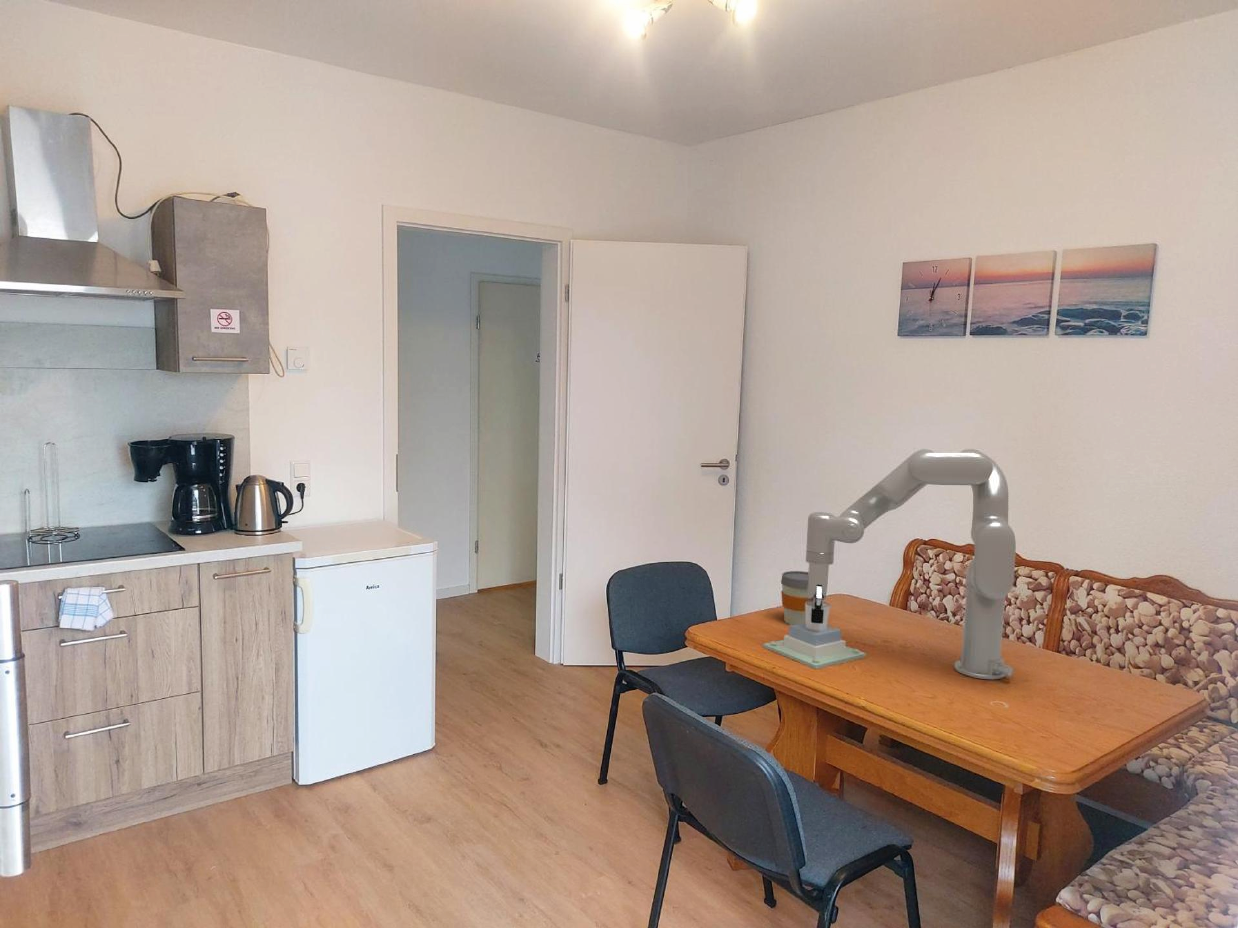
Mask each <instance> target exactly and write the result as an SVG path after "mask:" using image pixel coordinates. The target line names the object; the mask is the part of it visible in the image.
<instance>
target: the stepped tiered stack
mask: <svg viewBox="0 0 1238 928" xmlns="http://www.w3.org/2000/svg"><path fill="white" fill-rule="evenodd" d="M841 638H842V630H841V629H839V628H835V627H834V626H830V625H828V624H827V628H826V630H824V631H815V630H810V629H808V628H806V623H801V624H796V625H791V624H790V625H789V633H788V634H784V635H783V639H780V640H776V641H774V640H771V641H770V642H766V643H763V645H762V648H763V647H764V648H763V649H766V650H768V649H769V650H768V651H771V650H772V651H771V652H773V651H774V652H773V653H775V652H777V653H776V654H777V655H780V654H781V656H783V657H785V656H786V657H785V658H788V659H790V660H792V659H794V660H793V661H795V660H796V661H795V662H797V661H798V662H797V663H801V664H802V665H805V666H807V667H809V668H812V669H814V670H819V669H822V668H826V667H830V666H834V665H839V664H842V663H846V662H851V661H855V659H856V660H859V659H864V658H866V657H867V652H863V651H860V649H859V648H852V647H849V646H847V645H846V643H847V641H846V640H844V639H841Z"/></svg>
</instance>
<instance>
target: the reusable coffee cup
mask: <svg viewBox="0 0 1238 928" xmlns="http://www.w3.org/2000/svg"><path fill="white" fill-rule="evenodd" d="M780 583H781V588H782V590H781V605H782V607H783V615H784V622H785V624H787V625H788V624H789V625H790V626H791V625H796V624H801V623H806V613H805V602H807V601H811V600H812V598H810V599H809V598H808V596H807V586H808V571H799V570H791V571H785V572H783V573H782V574H781V580H780Z"/></svg>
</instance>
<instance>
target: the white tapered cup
mask: <svg viewBox="0 0 1238 928" xmlns="http://www.w3.org/2000/svg"><path fill="white" fill-rule="evenodd" d="M812 608H813V601H807V602H805V613H806V628H808V629H810V630H815V631H824V630H826V628H827V625H828V621H829V615H830V611H831V610H830V609H831V604H830V603H828V602H826V601H823V609H824V613H823V623H822V624H820V623H812V622H811V612H812Z"/></svg>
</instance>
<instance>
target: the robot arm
mask: <svg viewBox="0 0 1238 928" xmlns="http://www.w3.org/2000/svg"><path fill="white" fill-rule="evenodd" d="M927 485H933V486H935V485H936V486H970V487H971V490H972V496H973V497H972V519H971V529H970V530H971V531H970V538H971V540H972V542H973V544H974V554H973V555H974V557H973V559H972V560H971V561H970V562H969V563H968V566H967V568H966V577H965V580H966V581H965V585H966V586H965V590H966V593H965V604H964V605H965V607H964V617H963V629H962V630H963V631H962V643H961V644H962V645H961V654H960V655H961V656H960V657H961V659H959V660H956V661H955V662H954V665H953V667H954V669H955V671H956V672H958V673H960V674H961V675H965V676H968V677H971V678H975V679H983V680H999V679H1003V678H1005V676H1007V677H1011V676H1012V674H1013V670H1014V669H1013V668H1014V667H1012V666H1009V665H1006V664H1005V658H1003V657H1001V654H1002V643H1003V641H1002V640H1003V628H1004V618H1005V606H1006V604H1005V603H1006V596H1007V595H1009V594H1010V592H1011V590H1012V588H1013V585H1014V580H1015V570H1016V569H1015V567H1016V566H1015V565H1016V548H1017V547H1016V544H1017V543H1016V542H1017V541H1016V536H1015V532H1014V530H1013V529H1012V527H1011V525H1010V524H1009V487H1008V482H1007V479H1006V476H1005V474H1004V471H1003V470H1002V469H1001V467H1000V466H999V465H998V463H997V462H996V461H995V460H994V459H992V458H991V457H989V456H988V455H987V454H986V453H984V452H982V451H980V450H977V449H974V448H965V449H963V450H961V451H959V452H944V451H943V452H941V451H940V452H939V451H933V450H931V449H925V448H923V449H919V450H917V451H914V452H913V453H912V454H911V455H909V456H908V457H907V458H906V459H905V460H904V461H902V462H901V463H900V464H899V465H897V467H896V468H894V469H893V470H892V471H890V473H888V474H887V475H886V476H885V477H883V478H882V479H881V480H880V481H879V482H877V483H876V484H875V485H874V486H873V487H872V488H871V489H870V490H868V491H867V492H866V493H865V494H863V495H862V496H861V497H859V498H858V499H857V500H856V501H855V502H853V503H852V504H851V505H850V506H849V507H847V509H845V510H844V511H843V512H842V513H841V514H839V516H835V515H834V514H832V513H830V512H822V511H821V512H820V511H817V512H814V511H813V512H811V513H810V514H809V515H808V517H807V530H806V531H807V532H806V548H805V550H806V552H805V562H806V563H808V571H807V572H808V586H807V596H808V598H809V599H810V598H812V600H811V601H813V608H812V612H811V622H812V623H820V624H822V623H823V613H824V609H823V602H824V601H825V600H826V598H827V591H828V581H829V571H830V570H829V569H830V567H829V566H830V565H834V558H835V543H836V542H841V543H844V544H855V543H858V542H859V541H861V539H862V538H863V537H864V534H865V530H866V529H867V527H869V526H870V525H871V524H873V522H875V521H876V520H878V519H879V518H880V517H881V516H883V515H884V514H886V513H888V512H890V511H893V510H896V509H899V508H900V507H901V506H903V505H904V504H905V503H906V502H908V501H909V500H910V499H911V498H913V497H914V496H915V495H916V494H917V493H919V492H920V491H921V490H922V489H924V488H925V487H926V486H927Z"/></svg>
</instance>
